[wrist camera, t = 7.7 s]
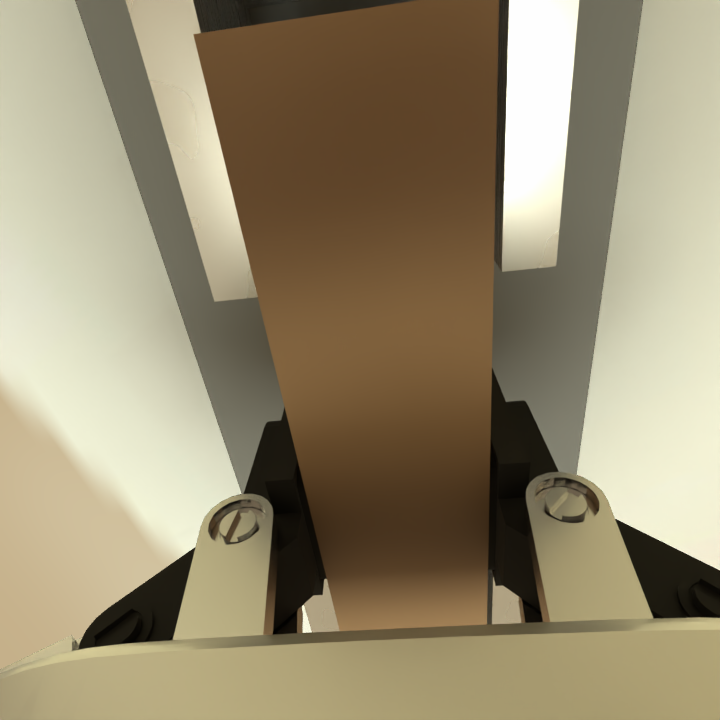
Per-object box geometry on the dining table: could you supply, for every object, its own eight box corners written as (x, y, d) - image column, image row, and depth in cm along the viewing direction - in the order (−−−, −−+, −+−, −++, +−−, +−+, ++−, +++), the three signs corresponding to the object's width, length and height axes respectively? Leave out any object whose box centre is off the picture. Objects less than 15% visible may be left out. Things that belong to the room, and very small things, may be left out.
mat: (53, -93, 10) (42, -98, 10) (661, -201, 9) (672, -212, 9) (275, 579, 21) (273, 587, 21) (559, 563, 20) (562, 572, 20)
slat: (265, 49, 9) (193, 34, 5) (447, 22, 8) (498, -13, 5) (367, 599, 17) (365, 736, 13) (461, 594, 16) (484, 733, 13)
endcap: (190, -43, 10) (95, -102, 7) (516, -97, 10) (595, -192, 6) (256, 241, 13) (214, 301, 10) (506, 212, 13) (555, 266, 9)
